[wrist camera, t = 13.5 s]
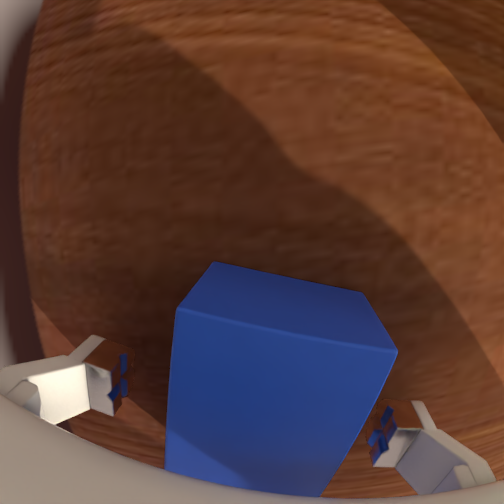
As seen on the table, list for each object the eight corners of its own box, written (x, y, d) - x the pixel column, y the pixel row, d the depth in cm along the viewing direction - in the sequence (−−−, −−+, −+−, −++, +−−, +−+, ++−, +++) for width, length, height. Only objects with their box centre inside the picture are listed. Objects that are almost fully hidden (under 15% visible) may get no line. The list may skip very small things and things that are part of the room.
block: (294, 465, 11) (293, 533, 8) (186, 444, 11) (163, 509, 8) (363, 291, 9) (400, 351, 6) (213, 260, 9) (174, 306, 6)
